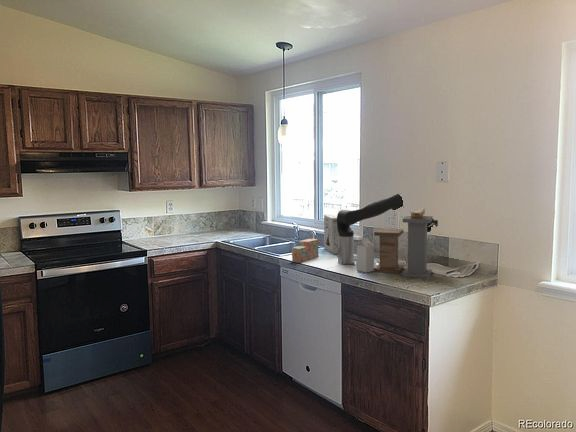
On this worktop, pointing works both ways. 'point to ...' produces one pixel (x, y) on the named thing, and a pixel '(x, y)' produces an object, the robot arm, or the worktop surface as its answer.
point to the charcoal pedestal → (417, 247)
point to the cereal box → (331, 233)
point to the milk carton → (365, 256)
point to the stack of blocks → (305, 250)
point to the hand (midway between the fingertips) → (423, 219)
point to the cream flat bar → (418, 214)
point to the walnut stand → (388, 250)
